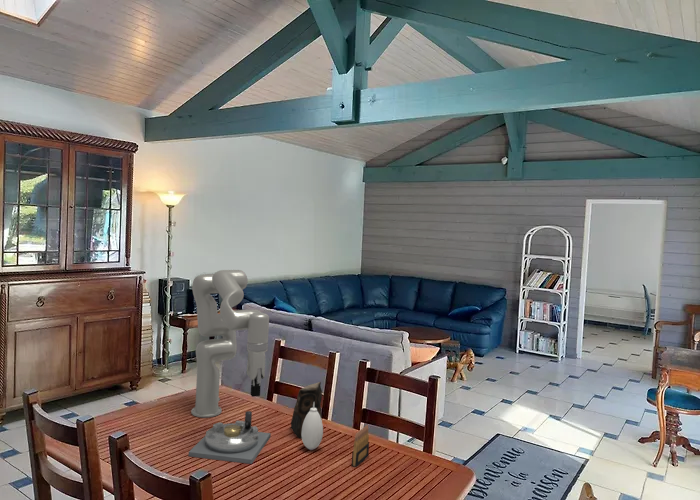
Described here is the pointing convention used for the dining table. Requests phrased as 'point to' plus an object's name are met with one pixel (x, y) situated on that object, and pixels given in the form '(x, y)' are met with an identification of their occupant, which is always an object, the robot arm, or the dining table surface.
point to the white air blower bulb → (312, 429)
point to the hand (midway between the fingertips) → (255, 395)
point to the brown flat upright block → (360, 447)
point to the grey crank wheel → (232, 436)
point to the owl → (306, 406)
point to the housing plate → (242, 457)
